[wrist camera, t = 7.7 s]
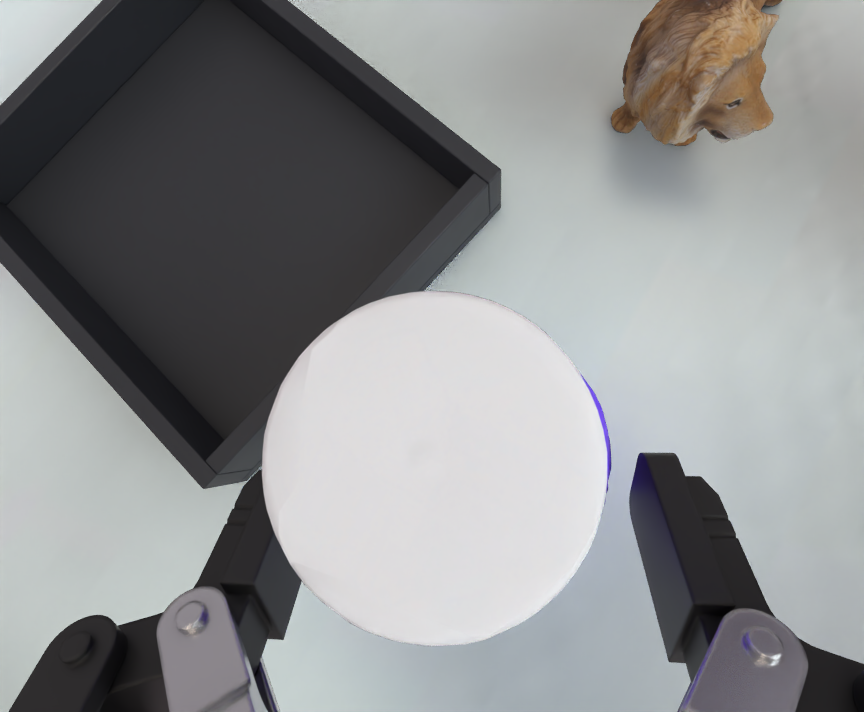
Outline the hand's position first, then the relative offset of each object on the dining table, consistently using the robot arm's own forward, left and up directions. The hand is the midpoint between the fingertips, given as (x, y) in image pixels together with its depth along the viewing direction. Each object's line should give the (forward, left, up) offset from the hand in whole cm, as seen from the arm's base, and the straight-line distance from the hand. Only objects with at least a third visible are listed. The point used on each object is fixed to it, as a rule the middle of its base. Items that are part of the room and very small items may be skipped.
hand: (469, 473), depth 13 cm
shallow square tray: (0, -17, -10) cm, 20 cm away
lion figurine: (-19, -4, -10) cm, 22 cm away
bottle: (0, 0, -10) cm, 10 cm away
